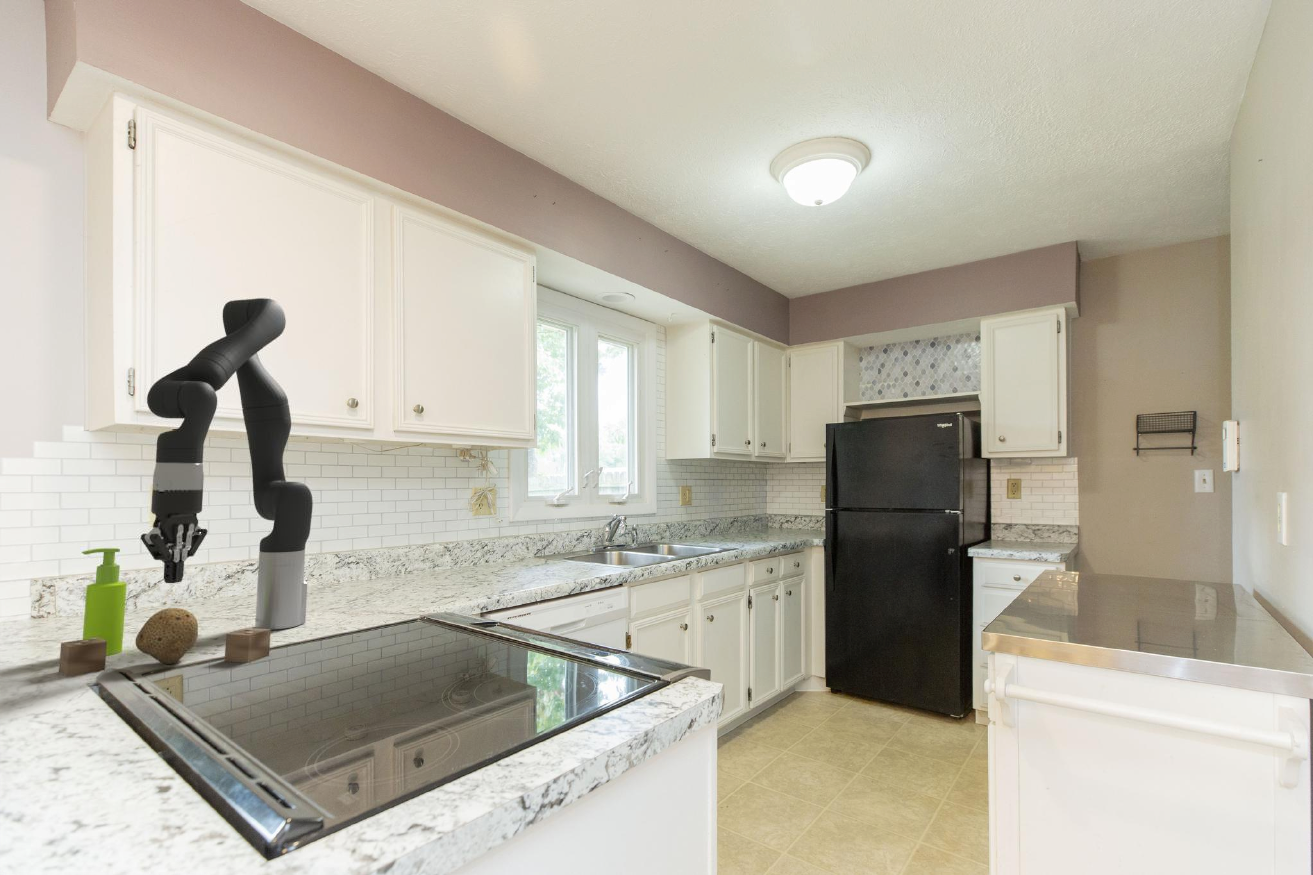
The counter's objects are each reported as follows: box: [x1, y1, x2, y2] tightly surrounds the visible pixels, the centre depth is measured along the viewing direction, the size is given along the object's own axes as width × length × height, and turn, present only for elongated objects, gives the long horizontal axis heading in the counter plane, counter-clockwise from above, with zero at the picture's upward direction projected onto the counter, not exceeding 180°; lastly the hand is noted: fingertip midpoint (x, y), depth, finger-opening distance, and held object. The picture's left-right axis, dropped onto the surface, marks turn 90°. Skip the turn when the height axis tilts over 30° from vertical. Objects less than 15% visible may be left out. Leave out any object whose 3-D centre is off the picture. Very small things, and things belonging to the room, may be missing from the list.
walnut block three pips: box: [58, 637, 107, 678], centre depth 111 cm, size 5×5×5 cm
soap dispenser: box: [81, 547, 128, 657], centre depth 122 cm, size 6×7×20 cm
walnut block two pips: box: [224, 627, 272, 664], centre depth 119 cm, size 5×5×5 cm
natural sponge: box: [135, 607, 199, 665], centre depth 115 cm, size 9×9×10 cm
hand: (173, 582), depth 116 cm, fingers closed
